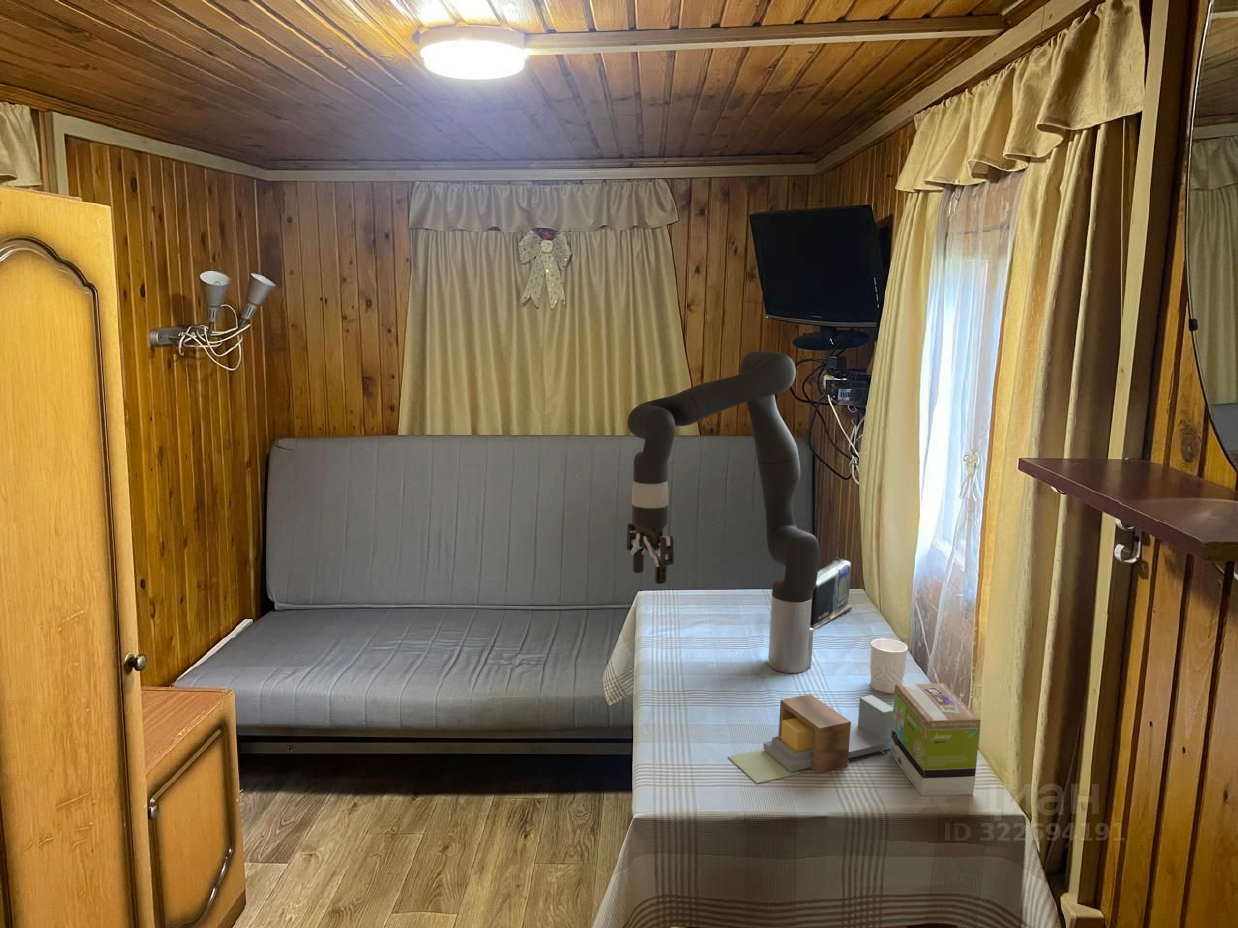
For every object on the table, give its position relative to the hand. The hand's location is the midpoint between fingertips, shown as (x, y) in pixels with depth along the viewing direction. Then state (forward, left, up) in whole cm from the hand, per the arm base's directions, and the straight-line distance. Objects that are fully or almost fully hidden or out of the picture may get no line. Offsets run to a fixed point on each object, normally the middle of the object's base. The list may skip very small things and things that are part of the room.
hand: (649, 577), depth 185 cm
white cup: (-53, +14, -28) cm, 62 cm away
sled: (-24, +33, -27) cm, 49 cm away
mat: (-8, +33, -27) cm, 44 cm away
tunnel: (-19, +33, -27) cm, 47 cm away
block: (-16, +33, -26) cm, 45 cm away
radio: (-68, -27, -28) cm, 78 cm away
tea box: (-35, +47, -28) cm, 65 cm away
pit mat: (-28, +33, -27) cm, 51 cm away
